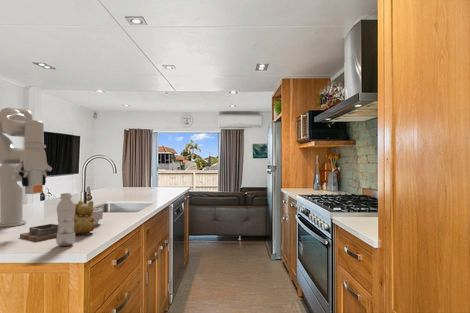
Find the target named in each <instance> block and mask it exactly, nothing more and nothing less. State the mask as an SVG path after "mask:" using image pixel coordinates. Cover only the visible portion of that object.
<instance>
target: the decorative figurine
mask: <svg viewBox="0 0 470 313" xmlns="http://www.w3.org/2000/svg"><path fill="white" fill-rule="evenodd" d="M74 204H75V206H76V209H75V215H74V222H75V223H74V232H75V236H87V235H89V234H90V233H91V232H93V231H95V228H96V225H95V222H94V221H95V219H94V217H93V216H92V215H91V214H92V213H93V208H94V201H93V200H89V201H88V202H87V203H85V202H84V200H78V202H77V203H74Z"/></svg>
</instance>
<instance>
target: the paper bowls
mask: <svg viewBox="0 0 470 313" xmlns="http://www.w3.org/2000/svg"><path fill="white" fill-rule="evenodd" d="M103 214H104V211H103V208H101V207H99V208H97V207H93V213H92V214H91V215H92V216H93V217H94V219H95V221H94V222H95V226H96V225H98V223H99V222H100V220H102V219H103V216H104V215H103ZM74 223H75V222H74Z"/></svg>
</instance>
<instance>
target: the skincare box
mask: <svg viewBox="0 0 470 313" xmlns="http://www.w3.org/2000/svg"><path fill="white" fill-rule="evenodd" d="M27 178H28V186H24V194H26V195H35V194H43V193H44V192H43V188H44V185H43V173H42V171H38V169H37V168H31V171H30V172H29V173H28V175H27Z"/></svg>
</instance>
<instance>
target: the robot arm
mask: <svg viewBox="0 0 470 313" xmlns="http://www.w3.org/2000/svg"><path fill="white" fill-rule="evenodd" d="M44 126H45V125H44V122H43V121H42V120H35V119H34V118H33V114H32V112H31V111H30V110H29V109H25V108H17V107H4V108H2V109H0V228H8V227H17V226H22V225H25V224H27V220H25V219H24V218H23V215H24V214H23V212H24V211H23V208H24V207H23V203H24V201H23V200H24V199H23V198H24V197H23V196H24V195H23V193H24V192H23V188H22V187H25V186H28V178H27V175H28V173H29V172H30V171H31V168H37V169H38V171H42V173H43V186H45V185H46V182H47V179H46V178H47V176H48V175H49V174H50V172H52V170H53V167H51V165H49V164H48V161H47V160H48V159H47V154H46V150H45V149H47V145H46V144H45V142H44V141H45V140H44V136H45V135H44V128H45V127H44ZM5 134H6V135H5ZM7 135H8V136H9V137H10V136H11V137H19V138H20V137H22V138H23V137H24V140H23V142H24V145H23V146H24V147H15V146H14V143H13V141H12V139H11V138H9V137H8V136H7ZM19 182H21V185H22V186H20V185H19Z"/></svg>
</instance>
